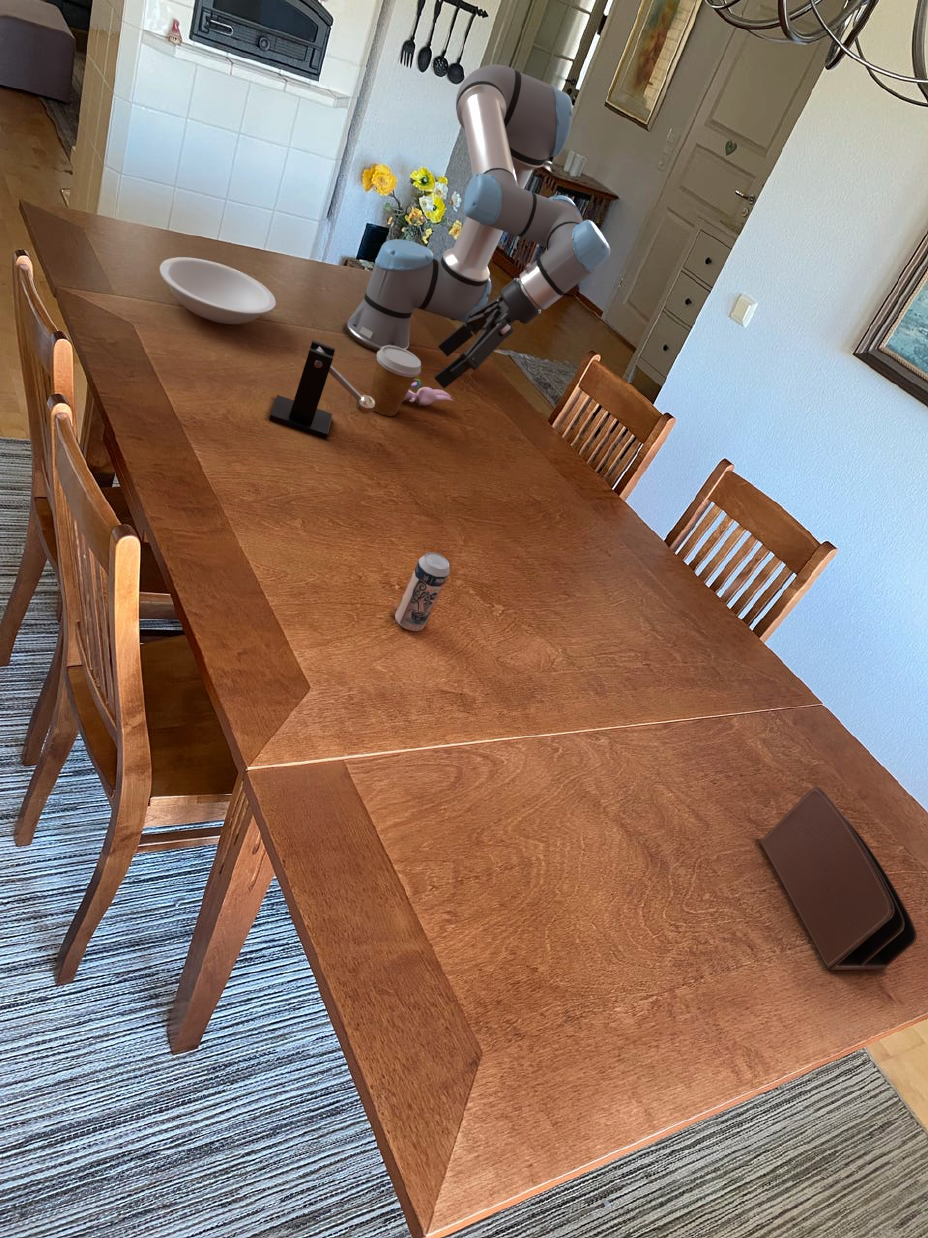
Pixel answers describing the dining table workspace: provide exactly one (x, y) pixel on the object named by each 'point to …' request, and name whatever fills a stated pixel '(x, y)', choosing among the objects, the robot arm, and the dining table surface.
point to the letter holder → (838, 887)
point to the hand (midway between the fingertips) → (440, 366)
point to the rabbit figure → (426, 394)
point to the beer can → (422, 591)
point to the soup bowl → (216, 290)
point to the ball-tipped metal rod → (353, 391)
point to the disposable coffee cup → (393, 378)
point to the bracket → (307, 396)
